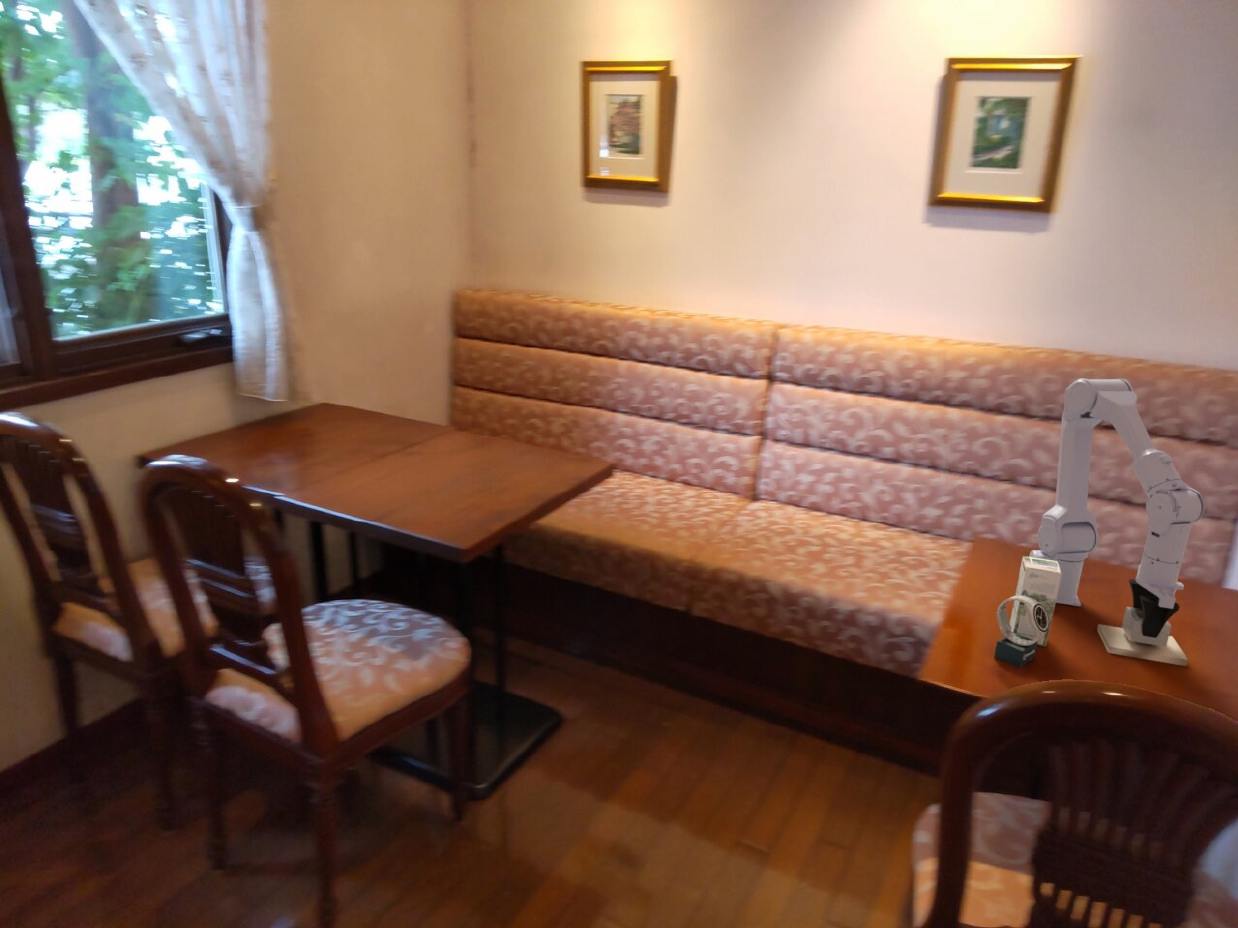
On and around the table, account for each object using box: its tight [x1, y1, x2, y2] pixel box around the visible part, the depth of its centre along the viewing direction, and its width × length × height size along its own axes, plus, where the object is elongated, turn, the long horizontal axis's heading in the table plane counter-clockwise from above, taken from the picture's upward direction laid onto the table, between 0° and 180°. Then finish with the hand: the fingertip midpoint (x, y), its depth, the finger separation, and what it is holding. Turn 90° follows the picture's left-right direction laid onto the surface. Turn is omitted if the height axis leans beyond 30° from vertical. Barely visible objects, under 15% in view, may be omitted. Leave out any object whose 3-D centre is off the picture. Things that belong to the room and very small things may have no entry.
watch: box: [993, 595, 1049, 669], centre depth 143 cm, size 6×8×11 cm
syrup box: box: [1009, 555, 1062, 647], centre depth 150 cm, size 6×6×14 cm
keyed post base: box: [1096, 617, 1189, 667], centre depth 150 cm, size 12×9×5 cm
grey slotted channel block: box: [1121, 606, 1172, 647], centre depth 149 cm, size 6×6×4 cm
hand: (1144, 628), depth 149 cm, fingers closed on grey slotted channel block, 5 cm apart
